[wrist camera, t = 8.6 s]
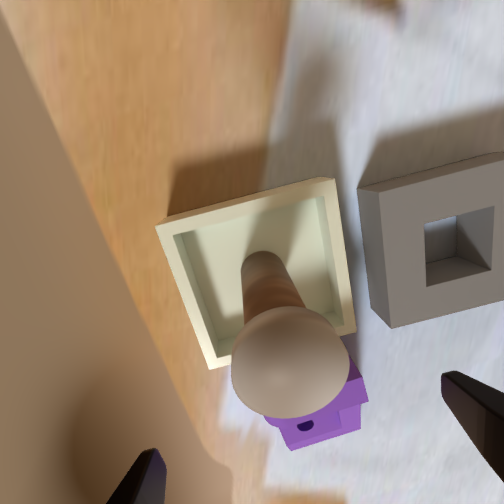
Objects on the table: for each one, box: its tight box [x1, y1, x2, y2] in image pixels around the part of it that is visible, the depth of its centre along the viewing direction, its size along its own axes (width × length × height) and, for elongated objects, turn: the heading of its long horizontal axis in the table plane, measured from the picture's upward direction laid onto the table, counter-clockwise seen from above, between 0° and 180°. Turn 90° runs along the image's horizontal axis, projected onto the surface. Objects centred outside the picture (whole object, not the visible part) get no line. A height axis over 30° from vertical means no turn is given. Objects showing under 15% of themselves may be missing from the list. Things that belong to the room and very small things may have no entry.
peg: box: [231, 251, 350, 419], centre depth 15 cm, size 4×4×10 cm
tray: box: [155, 176, 357, 370], centre depth 19 cm, size 11×11×3 cm
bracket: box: [263, 354, 368, 451], centre depth 21 cm, size 12×7×7 cm, turn 19°
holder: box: [357, 152, 504, 329], centre depth 19 cm, size 10×10×3 cm
